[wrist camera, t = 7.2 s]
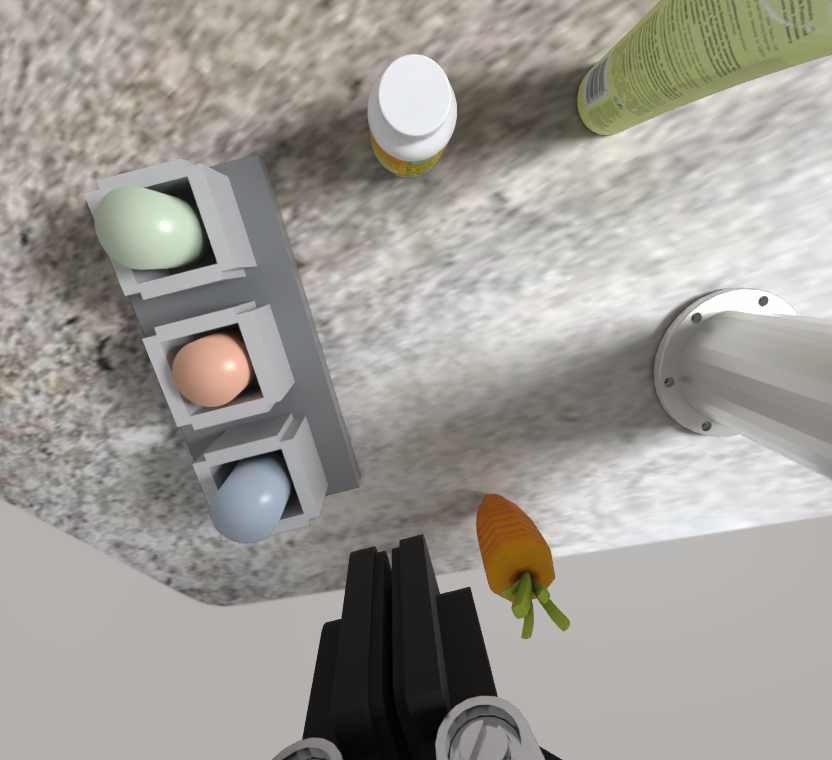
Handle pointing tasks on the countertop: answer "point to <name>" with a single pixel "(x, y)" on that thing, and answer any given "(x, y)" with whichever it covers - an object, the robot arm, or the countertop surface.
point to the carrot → (516, 560)
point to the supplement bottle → (411, 115)
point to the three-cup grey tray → (261, 329)
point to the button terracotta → (213, 368)
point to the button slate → (252, 498)
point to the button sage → (150, 229)
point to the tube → (699, 55)
